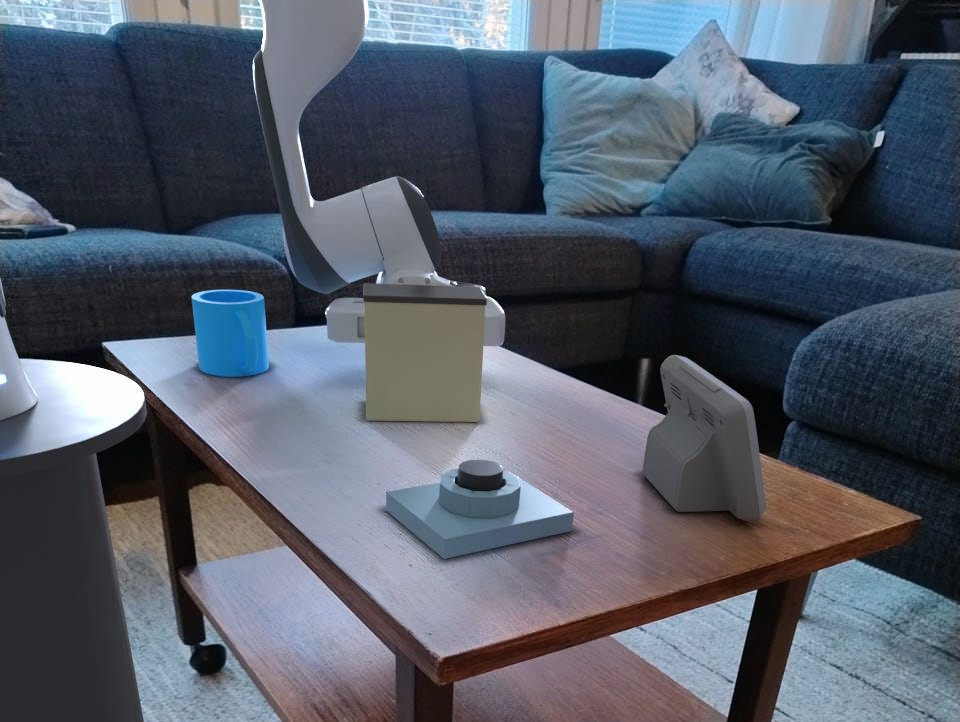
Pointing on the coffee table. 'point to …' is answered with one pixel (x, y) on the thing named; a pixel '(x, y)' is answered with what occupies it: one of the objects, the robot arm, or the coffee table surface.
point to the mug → (230, 332)
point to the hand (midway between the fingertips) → (420, 339)
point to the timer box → (477, 514)
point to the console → (423, 352)
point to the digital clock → (705, 445)
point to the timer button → (480, 475)
